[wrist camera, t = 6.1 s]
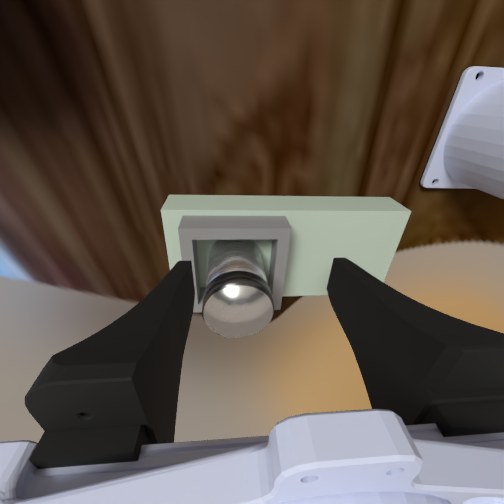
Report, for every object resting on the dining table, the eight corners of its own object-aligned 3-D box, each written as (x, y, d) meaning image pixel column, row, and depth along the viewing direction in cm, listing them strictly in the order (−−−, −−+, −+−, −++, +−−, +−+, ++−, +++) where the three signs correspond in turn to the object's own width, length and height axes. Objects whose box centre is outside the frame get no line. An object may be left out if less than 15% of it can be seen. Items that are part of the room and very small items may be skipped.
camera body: (389, 197, 22) (429, 223, 17) (363, 273, 26) (390, 309, 22) (169, 194, 20) (153, 222, 16) (180, 277, 24) (170, 316, 20)
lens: (264, 233, 19) (278, 285, 14) (260, 278, 21) (271, 337, 16) (206, 233, 19) (199, 287, 14) (208, 279, 21) (203, 340, 16)
